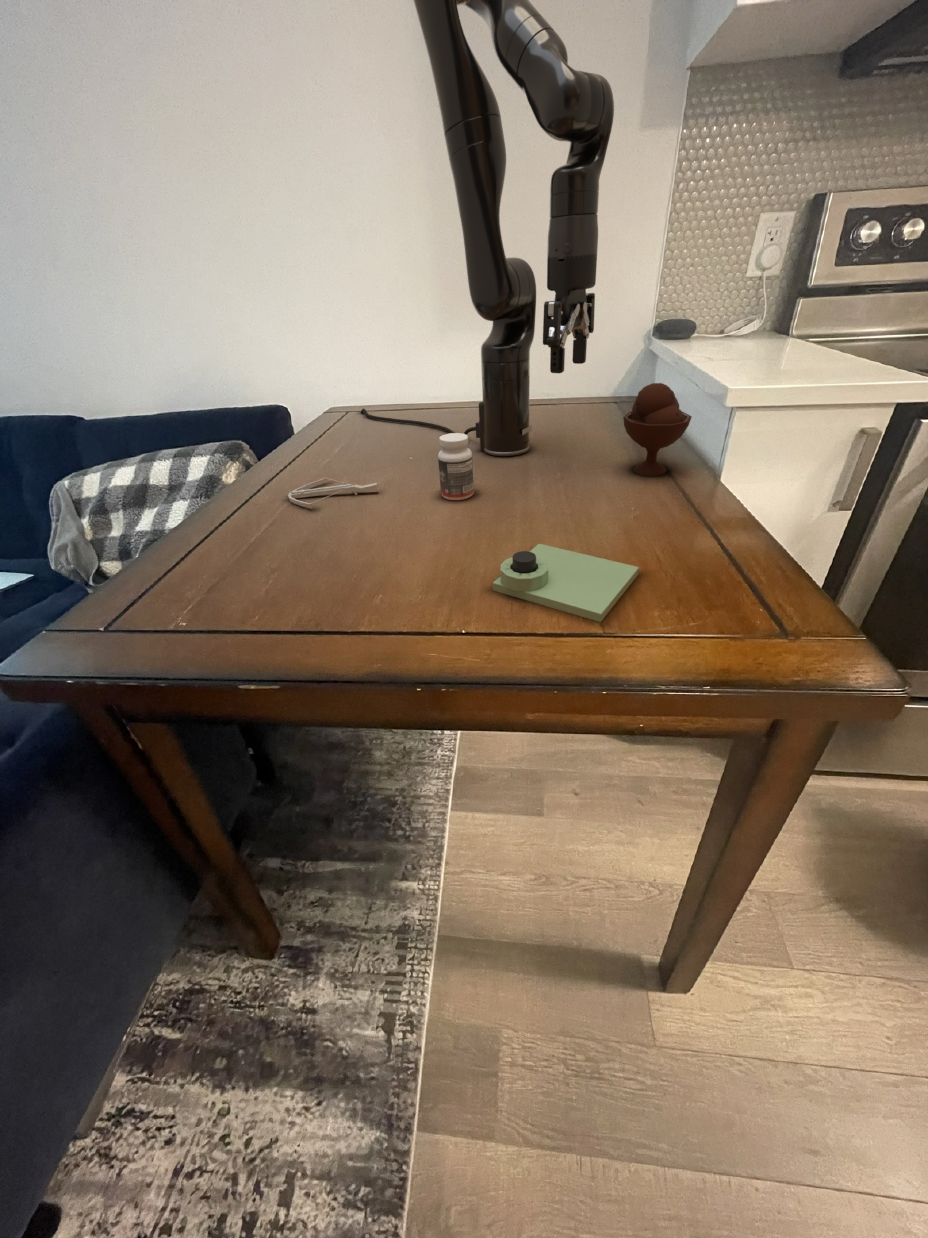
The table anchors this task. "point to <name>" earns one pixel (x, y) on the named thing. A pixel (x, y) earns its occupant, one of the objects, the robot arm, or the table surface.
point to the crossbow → (327, 491)
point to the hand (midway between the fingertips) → (568, 367)
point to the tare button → (524, 562)
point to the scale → (568, 582)
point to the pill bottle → (455, 467)
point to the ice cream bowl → (655, 424)
